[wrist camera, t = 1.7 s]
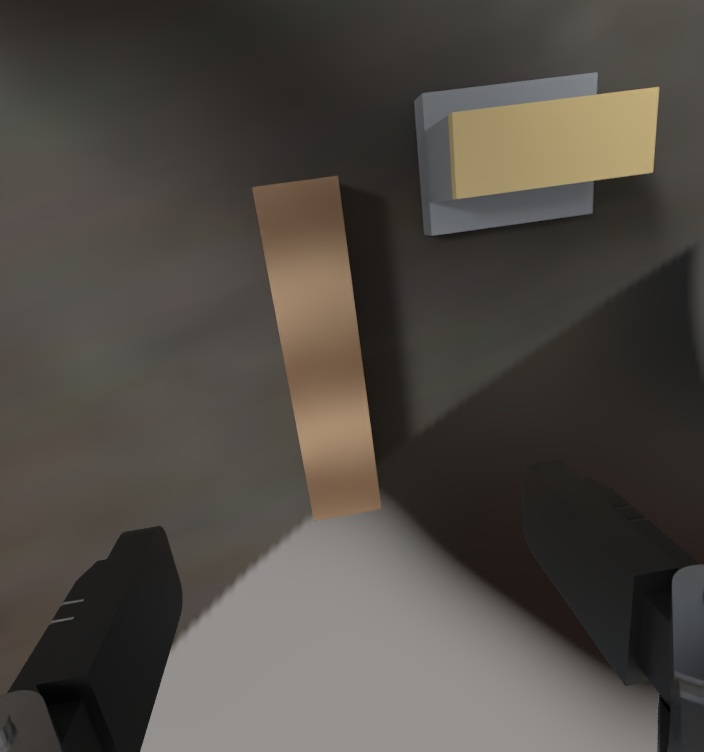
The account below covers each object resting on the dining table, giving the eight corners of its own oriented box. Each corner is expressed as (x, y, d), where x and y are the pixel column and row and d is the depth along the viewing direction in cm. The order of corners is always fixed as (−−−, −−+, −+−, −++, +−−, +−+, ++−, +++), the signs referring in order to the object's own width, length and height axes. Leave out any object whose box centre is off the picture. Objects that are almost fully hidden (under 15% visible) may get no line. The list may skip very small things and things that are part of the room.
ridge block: (414, 101, 22) (449, 65, 17) (578, 81, 23) (662, 40, 17) (424, 234, 24) (458, 239, 19) (575, 213, 25) (650, 212, 19)
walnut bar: (259, 192, 23) (252, 187, 19) (331, 182, 23) (337, 175, 19) (312, 480, 28) (314, 521, 24) (370, 470, 28) (381, 509, 25)
